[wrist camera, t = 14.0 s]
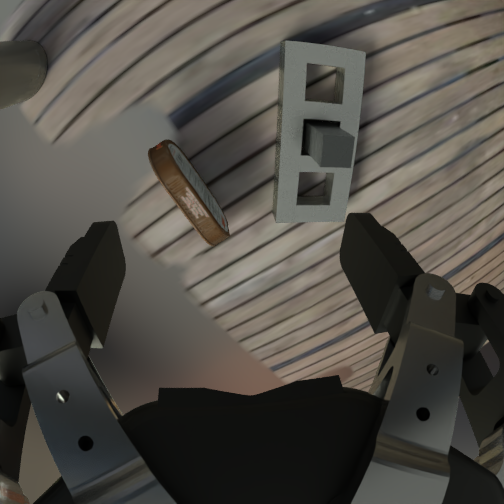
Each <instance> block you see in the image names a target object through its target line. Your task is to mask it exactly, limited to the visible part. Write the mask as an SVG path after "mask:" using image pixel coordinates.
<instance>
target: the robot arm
mask: <svg viewBox="0 0 504 504" xmlns="http://www.w3.org/2000/svg"><path fill="white" fill-rule="evenodd" d="M46 72H47V56H46V53H45V51H44V49H43V48H42V46H41V45H40V44H39V43H37V42H35V41H29V40H28V41H3V42H0V110H1V109H4V108H7V107H9V106H12V105H15V104H18V103H20V102H23V101H26V100H28V99H30V98H31V97H32V96H34V95H35V94H36V93H37V91H38V90H39V89H40V87H41V85H42V84H43V82H44V79H45V76H46ZM340 263H341V266H342V269H343V270H344V272H345V274H346V276H347V278H348V280H349V282H350V284H351V286H352V288H353V290H354V292H355V294H356V296H357V298H358V300H359V302H360V304H361V306H362V308H363V310H364V312H365V314H366V316H367V318H368V321H369V323H370V325H371V327H372V329H373V331H374V333H375V334H377V333H383V332H388V333H389V335H390V336H389V338H388V340H387V343H386V346H385V349H384V352H383V355H382V358H381V361H380V363H379V366H378V369H377V372H376V375H375V377H374V380H373V383H372V385H371V387H370V389H369V391H368V392H365V391H362V390H358V389H353V388H348V387H342V384H341V381H340V378H339V375H336V376H330V377H323V378H316V379H309V380H301V381H296V382H293V383H290V384H287V385H284V386H281V387H279V388H275V389H272V390H269V391H266V392H263V393H260V394H257V395H251V396H248V395H241V394H235V393H229V392H223V391H218V390H212V389H207V388H159V395H158V400H157V401H154V402H150V403H147V404H144V405H141V406H139V407H137V408H135V409H133V410H131V411H130V412H128V413H126V414H125V415H123V413H122V412H121V410H119V408H118V406H117V404H116V403H115V401H114V400H113V398H112V396H111V395H110V393H109V391H108V390H107V388H106V386H105V385H104V383H103V381H102V380H101V378H100V376H99V374H98V372H97V370H96V368H95V367H94V365H93V363H92V361H91V359H90V358H89V356H88V355H89V351H90V348H103V347H104V343H105V339H106V336H107V332H108V329H109V325H110V322H111V318H112V315H113V311H114V308H115V305H116V302H117V298H118V295H119V292H120V289H121V286H122V283H123V280H124V277H125V271H126V264H125V257H124V254H123V249H122V245H121V241H120V237H119V233H118V228H117V225H116V223H115V222H114V221H104V222H94V223H93V224H92V225H91V227H90V228H89V230H88V231H87V233H86V235H85V237H81V238H80V239H78V240H77V241H76V242H75V243H74V244H72V245H71V246H70V248H69V250H68V251H67V253H66V255H65V258H63V260H62V261H61V263H60V266H58V268H57V270H56V272H55V273H54V275H53V277H52V279H51V281H50V282H49V284H48V286H47V288H46V290H45V291H42V292H38V293H35V294H33V295H31V296H30V297H28V298H27V299H26V300H25V301H24V302H23V303H22V304H21V306H20V307H19V309H18V312H17V314H15V315H11V316H8V317H4V318H0V504H30V503H29V500H28V498H27V497H26V496H25V495H24V494H23V491H22V488H21V486H20V484H19V483H18V482H19V472H20V463H21V455H22V448H23V442H24V435H25V430H26V425H27V420H28V415H29V410H30V406H31V404H32V407H33V409H34V412H35V415H36V418H37V421H38V423H39V426H40V429H41V431H42V434H43V436H44V439H45V441H46V443H47V446H48V448H49V450H50V452H51V455H52V457H53V459H54V461H55V463H56V465H57V467H58V470H59V472H60V473H61V477H60V478H59V479H58V480H57V481H56V482H55V483H54V484H53V485H52V486H51V487H50V488H49V489H48V490H47V491H46V492H44V493H43V494H42V495H41V496H40V497H39V498H38V499H37V500H36V501H35V502H34V503H33V504H504V295H503V293H502V292H501V291H500V290H499V289H497V288H496V287H494V286H493V285H490V284H487V283H479V284H477V285H476V286H475V288H474V290H473V292H472V294H471V295H466V294H459V293H455V290H454V288H453V287H452V285H451V284H450V283H449V282H448V281H446V280H445V279H444V278H442V277H440V276H438V275H435V274H430V273H425V272H424V271H423V270H422V268H421V267H420V266H419V265H418V263H417V262H416V261H415V259H414V258H413V257H412V256H411V254H410V253H409V252H407V249H406V248H405V247H404V246H403V244H401V242H400V241H399V239H398V238H397V237H396V236H395V235H394V234H393V233H392V232H390V231H389V230H387V229H386V228H384V227H383V226H381V225H380V224H379V223H378V222H377V220H376V219H375V218H374V217H373V216H372V215H371V214H370V213H349V214H348V216H347V219H346V224H345V229H344V234H343V238H342V243H341V248H340ZM487 339H488V340H489V342H490V343H491V345H492V347H493V349H494V350H495V352H496V354H497V356H498V358H499V361H500V368H499V371H498V373H497V374H496V376H495V377H494V378H493V376H492V374H491V372H490V370H489V368H488V366H487V364H486V362H485V360H484V358H483V356H482V354H481V353H480V351H479V350H480V349H481V347H482V346H483V345H484V343H485V342H486V340H487ZM459 397H460V399H461V401H462V403H463V406H464V409H465V411H466V414H467V416H468V419H469V421H470V424H471V427H472V429H473V432H474V435H475V437H476V440H477V443H478V446H479V456H477V457H476V458H475V459H474V460H472V459H471V458H469V457H468V456H466V455H464V454H463V453H461V452H460V451H458V450H457V449H455V448H453V447H452V446H451V445H450V443H451V439H452V434H453V429H454V424H455V419H456V413H457V406H458V400H459Z"/></svg>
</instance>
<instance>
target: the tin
mask: <svg viewBox="0 0 504 504" xmlns="http://www.w3.org/2000/svg"><path fill="white" fill-rule="evenodd" d="M148 157H149V161H150V164H151V166H152V168H153V171H154V172H155V174H156V176H157V178H158V179H159V181H160V183H161V184H162V186H163V187H164V188H165V190H166V191H167V192H168V194H169V195H170V196H171V198H172V199H173V200H174V202H175V203H176V204H177V206H178V207H179V208H180V210H181V211H182V212H183V214H184V215H185V216H186V218H187V219H188V220H189V222H190V223H191V224H192V225H193V227H194V228H195V230H196V231H197V232H198V233H199V235H200V236H201V237H202V238H203V239H204V240H205V241H206V242H207V243H208V244H209V245H211V246H216V245H217V244H218V243H219V242H221V241H223V240H225V239H226V238H228V237H229V236H230V234H229V229H228V222H227V219H226V217H225V215H224V213H223V211H222V209H221V208H220V206H219V204H218V203H217V201H216V199H215V198H214V196H213V195H212V194H211V192H210V191H209V189H208V188H207V186H206V185H205V183H204V182H203V180H202V179H201V177H200V176H199V174H198V173H197V171H196V170H195V168H194V167H193V166H192V164H191V163H190V161H189V160H188V159H187V157H186V156H185V154H184V153H183V152H182V151H181V149H180V148H179V147H178V146H177V145H176V144H175V143H174V142H172V141H171V140H164V141H162V142H161V143H159V144H158V145H156V146H155V147H153V148H150V149H149V151H148Z"/></svg>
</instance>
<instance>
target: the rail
mask: <svg viewBox="0 0 504 504" xmlns="http://www.w3.org/2000/svg"><path fill="white" fill-rule="evenodd" d="M365 58H366V52H363V51H358V50H353V49H348V48H342V47H336V46H329V45H322V44H315V43H306V42H297V41H283V42H280V70H279V94H278V117H277V138H276V157H275V176H274V194H273V211H272V213H273V216H274V219H275V222H276V223H288V222H344V218H345V213H346V208H347V202H348V197H349V191H350V185H351V179H352V172H353V166H354V159H355V152H356V145H357V138H358V130H359V122H360V113H361V104H362V94H363V84H364V72H365ZM307 64H316V65H324V66H332V67H336V82H335V94H334V101H326V100H315V99H305V89H306V71H307ZM303 119H319V120H331V121H332V123H333V124H335V125H336V126H338V127H339V128H341V129H343V130H344V131H346V132H348V133H349V134H351V135H352V136H354V137H355V141H354V149H353V157H352V164H351V168H335V167H320V166H319V165H318V164H317V163H316V162H315V161H314V159H313V158H312V157H311V156H310V155H309V154H308V153H307V152H306V151H305V150H304V149H301V146H302V133H303ZM299 172H326V180H325V187H324V195H323V196H297V192H298V181H299Z"/></svg>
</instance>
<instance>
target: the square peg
mask: <svg viewBox="0 0 504 504" xmlns="http://www.w3.org/2000/svg"><path fill="white" fill-rule="evenodd" d="M354 141H355V137H354V136H352V135H351V134H349V133H348V132H346V131H344V130H343V129H341V128H339V127H338V126H336V125H335V124H333V123H331V122H329V121H328V120H311V119H303V133H302V147H303V149H304V150H305V151H306V152H307V153H308V154H309V155H310V156H311V157H312V158H313V159H314V161H315V162H316V163H317V164H318V165H319V166H320V167H335V168H351V164H352V157H353V149H354Z"/></svg>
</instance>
